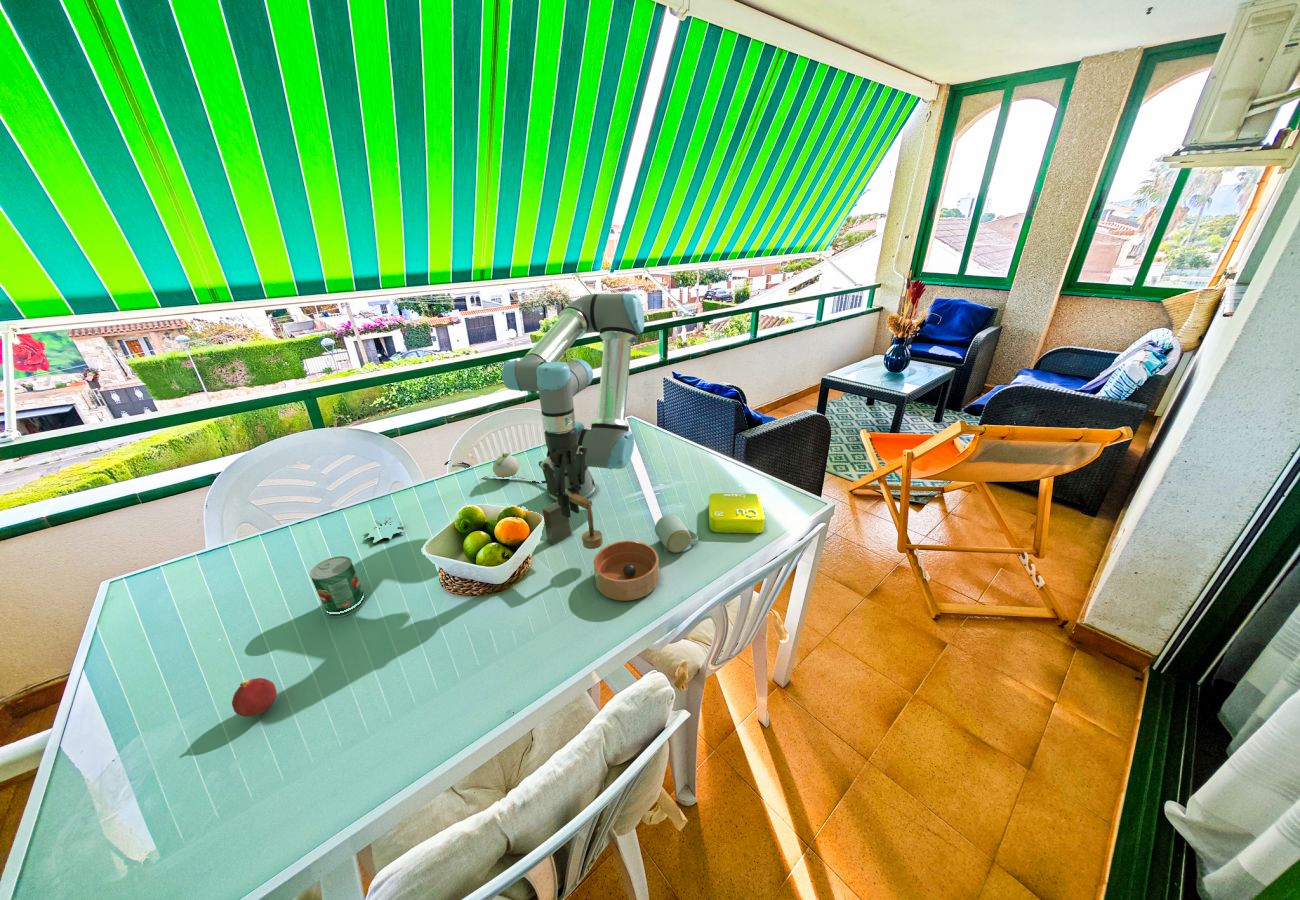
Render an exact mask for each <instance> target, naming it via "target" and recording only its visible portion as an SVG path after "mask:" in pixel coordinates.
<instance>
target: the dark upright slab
mask: <svg viewBox="0 0 1300 900" xmlns="http://www.w3.org/2000/svg"><path fill="white" fill-rule="evenodd" d="M542 515H543V522H544V529H545V536H546V541H547V542H548V543H550V544H551V545H553V546H554V545H556V544H559V543H560V542H562V541H564V540H565V539H567V538H569V537H570V536H572V532H571V531H572V530H571V523H570V518H567V517H565V516H564V515H562V510H561V506H559V505H558V502H557V501H554V502H553V503H552V504H549V505H547V506H546V507H545V506H544V508H542Z"/></svg>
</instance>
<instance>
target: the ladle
mask: <svg viewBox="0 0 1300 900" xmlns="http://www.w3.org/2000/svg"><path fill="white" fill-rule="evenodd" d="M545 487H546V491H548V492H549V490H548V487H547V484H546V486H545ZM565 493H566V494H568V498H569V501H571V502H573V503H575V504H577V505H578V506H579V507H580V508H583V509H585V510H586V514H587V523H588V530H586V531H585V532H583V533H582V535H581V539H582V546H583V547H584V548H585V549H587V550H595V549H599V548H600V547H602V545H603V543H604V539H603V533H602V532H601V530H598V529H595V527H594V516H593V501H592V500H591V499H590V498H587V499H586V498H584V497H582V496H580V495H578V494H576V493H573V492H571V491H569V490H567V489H565Z"/></svg>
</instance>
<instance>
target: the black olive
mask: <svg viewBox="0 0 1300 900" xmlns="http://www.w3.org/2000/svg"><path fill="white" fill-rule="evenodd" d="M635 572H636V569H635V567H634V566H633V565H632V564H628V565H626V566H625V567H624V569H623V573H624V575H625V576H627V577H632V576H633V575H634V574H635Z"/></svg>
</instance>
